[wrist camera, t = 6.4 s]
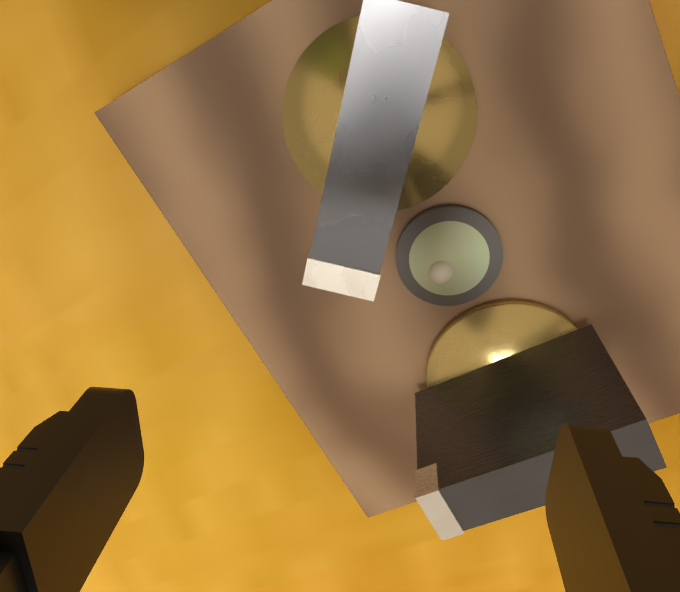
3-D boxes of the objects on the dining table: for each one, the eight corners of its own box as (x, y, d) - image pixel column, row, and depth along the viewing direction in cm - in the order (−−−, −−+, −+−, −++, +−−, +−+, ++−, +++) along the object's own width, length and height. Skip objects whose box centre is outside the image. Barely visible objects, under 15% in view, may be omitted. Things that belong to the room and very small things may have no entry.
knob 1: (306, -23, 24) (264, -32, 17) (505, 25, 24) (548, 37, 17) (269, 197, 28) (222, 266, 21) (440, 237, 28) (452, 320, 21)
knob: (566, 267, 28) (622, 360, 21) (622, 398, 31) (689, 520, 24) (388, 342, 31) (383, 447, 24) (455, 457, 34) (469, 583, 26)
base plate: (571, -183, 23) (594, -209, 20) (749, 360, 32) (782, 395, 29) (113, 105, 29) (82, 117, 26) (369, 493, 38) (366, 532, 35)
